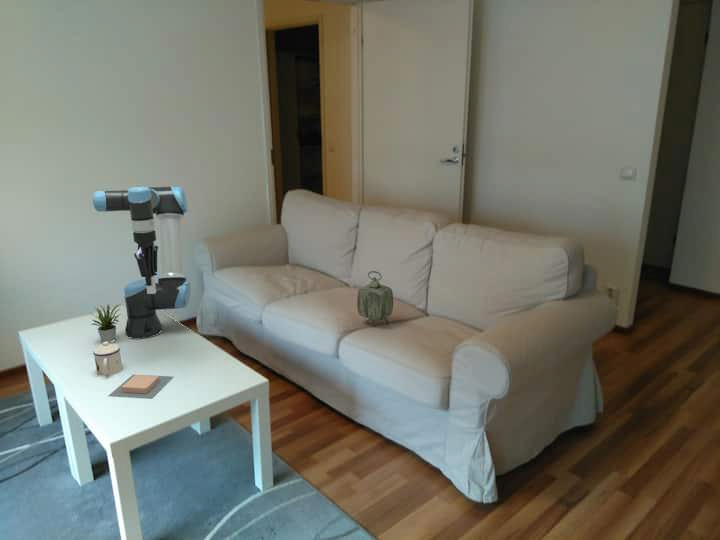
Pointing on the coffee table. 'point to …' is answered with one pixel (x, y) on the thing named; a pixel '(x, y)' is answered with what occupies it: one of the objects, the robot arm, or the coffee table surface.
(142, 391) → the tile
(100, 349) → the teacup with lid
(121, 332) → the coffee table surface
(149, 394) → the mat
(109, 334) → the house plant
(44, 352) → the coffee table surface
